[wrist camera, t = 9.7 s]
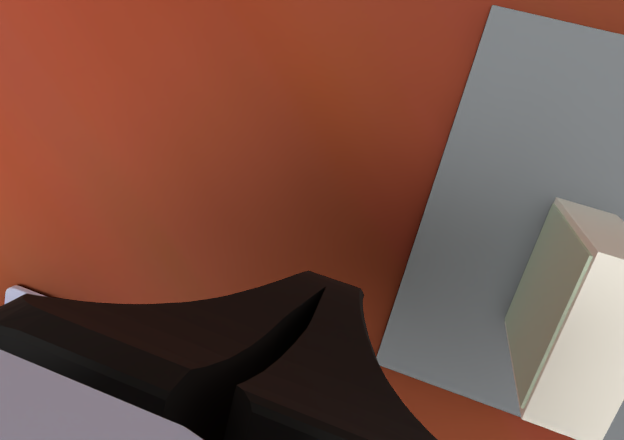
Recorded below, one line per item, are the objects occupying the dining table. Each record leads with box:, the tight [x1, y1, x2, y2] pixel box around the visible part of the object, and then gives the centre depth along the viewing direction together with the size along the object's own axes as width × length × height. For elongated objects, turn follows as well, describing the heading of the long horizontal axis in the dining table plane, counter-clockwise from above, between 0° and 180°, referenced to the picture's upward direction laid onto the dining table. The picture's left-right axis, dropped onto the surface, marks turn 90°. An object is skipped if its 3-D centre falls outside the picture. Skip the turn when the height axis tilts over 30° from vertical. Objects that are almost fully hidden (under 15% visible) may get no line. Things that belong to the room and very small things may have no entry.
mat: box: [376, 5, 624, 440], centre depth 18 cm, size 14×14×1 cm
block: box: [505, 197, 624, 440], centre depth 16 cm, size 5×2×6 cm, turn 165°
